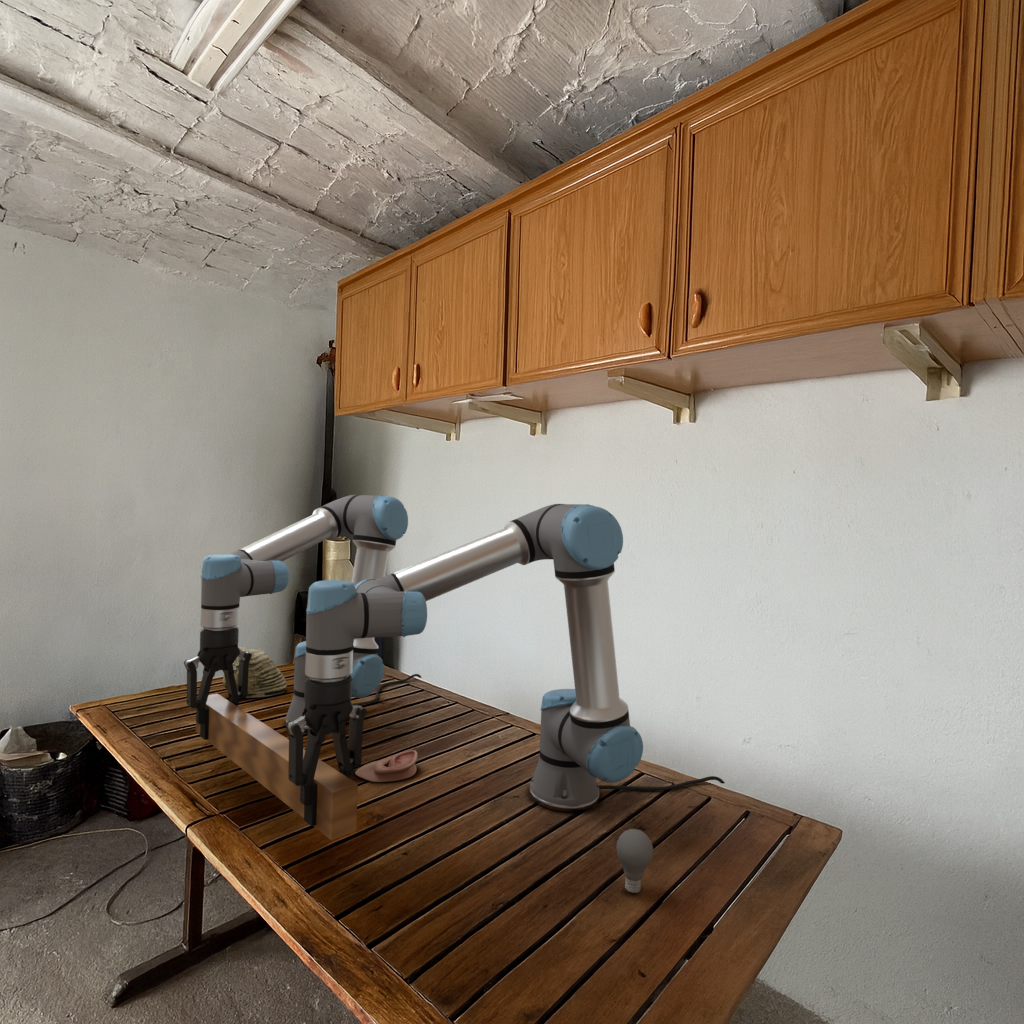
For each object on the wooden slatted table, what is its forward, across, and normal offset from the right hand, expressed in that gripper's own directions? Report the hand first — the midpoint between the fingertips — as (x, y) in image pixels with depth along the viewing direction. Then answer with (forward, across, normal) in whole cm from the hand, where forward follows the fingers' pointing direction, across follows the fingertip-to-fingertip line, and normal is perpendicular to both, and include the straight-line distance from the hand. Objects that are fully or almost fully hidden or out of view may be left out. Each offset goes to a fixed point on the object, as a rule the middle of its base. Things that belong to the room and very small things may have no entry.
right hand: (324, 816), depth 104 cm
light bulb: (+11, +37, -35) cm, 53 cm away
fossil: (+11, +32, +101) cm, 107 cm away
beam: (0, 0, +23) cm, 23 cm away
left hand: (0, 0, +46) cm, 46 cm away
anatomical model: (+11, +32, +28) cm, 44 cm away
